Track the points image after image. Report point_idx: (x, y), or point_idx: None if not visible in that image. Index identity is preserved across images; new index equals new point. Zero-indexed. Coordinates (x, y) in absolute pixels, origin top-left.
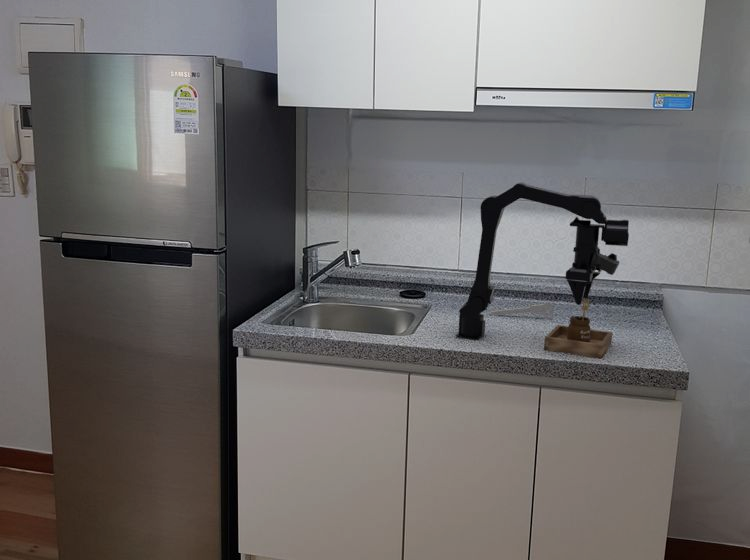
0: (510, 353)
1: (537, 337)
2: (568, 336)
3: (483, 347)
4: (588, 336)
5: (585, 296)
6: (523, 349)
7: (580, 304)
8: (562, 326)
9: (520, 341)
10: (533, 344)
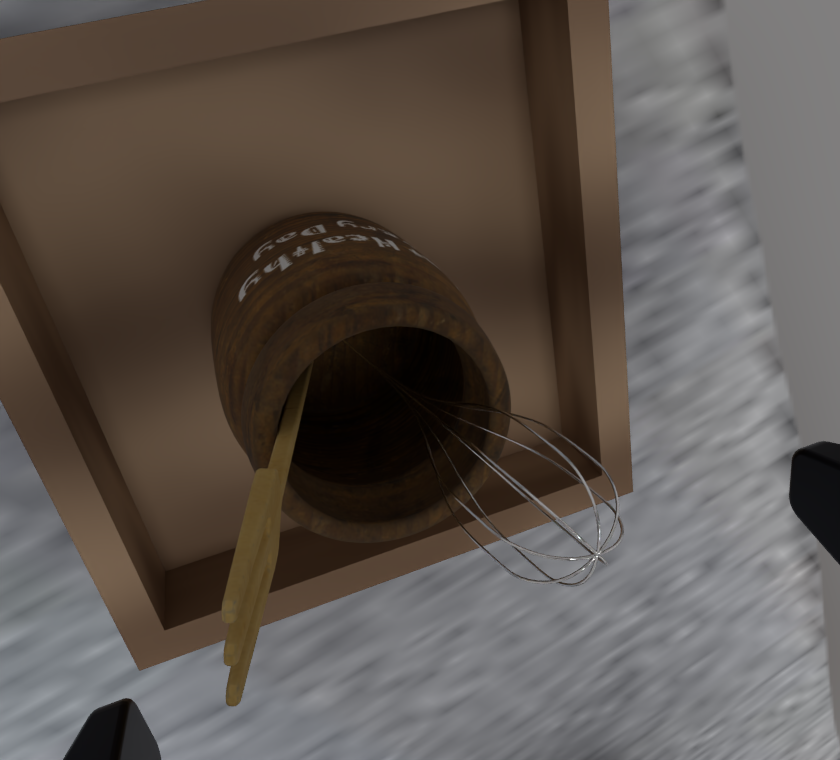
0: (757, 518)
1: (292, 650)
2: (421, 401)
3: (722, 664)
4: (354, 227)
5: (145, 758)
6: (641, 524)
7: (829, 442)
8: (156, 615)
9: (480, 643)
10: None
